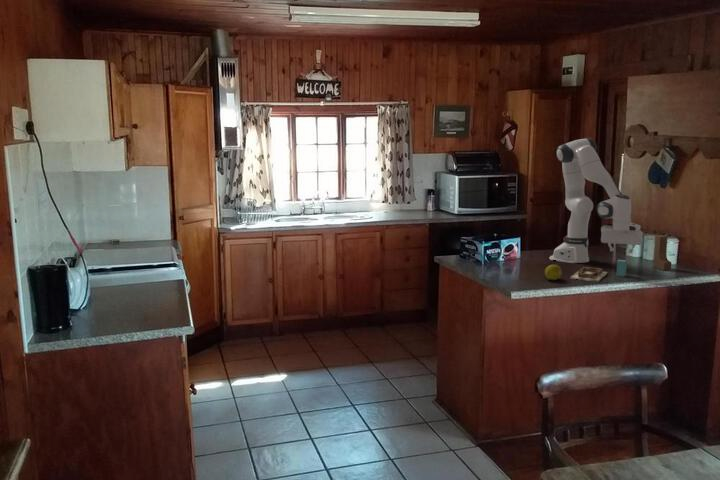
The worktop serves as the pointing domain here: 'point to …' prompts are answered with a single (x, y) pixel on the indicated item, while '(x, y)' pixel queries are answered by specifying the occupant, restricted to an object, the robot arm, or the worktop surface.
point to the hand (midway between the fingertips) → (621, 252)
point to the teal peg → (621, 268)
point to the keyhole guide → (589, 274)
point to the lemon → (553, 272)
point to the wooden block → (661, 253)
